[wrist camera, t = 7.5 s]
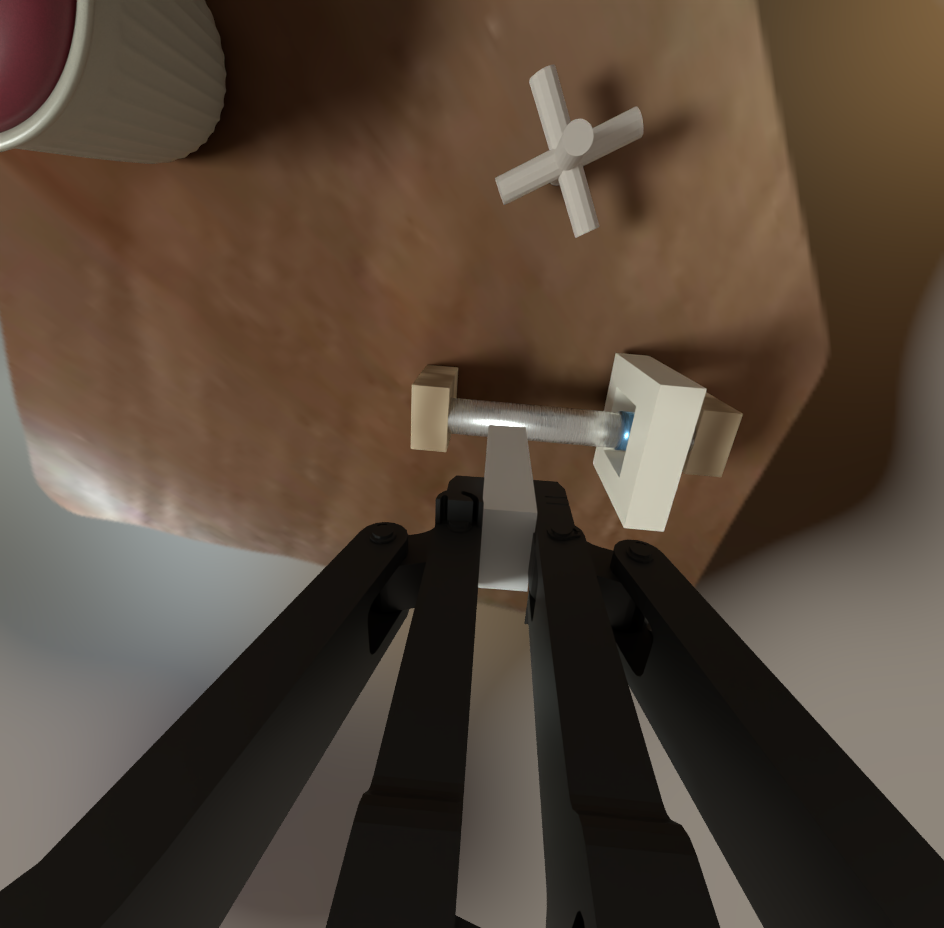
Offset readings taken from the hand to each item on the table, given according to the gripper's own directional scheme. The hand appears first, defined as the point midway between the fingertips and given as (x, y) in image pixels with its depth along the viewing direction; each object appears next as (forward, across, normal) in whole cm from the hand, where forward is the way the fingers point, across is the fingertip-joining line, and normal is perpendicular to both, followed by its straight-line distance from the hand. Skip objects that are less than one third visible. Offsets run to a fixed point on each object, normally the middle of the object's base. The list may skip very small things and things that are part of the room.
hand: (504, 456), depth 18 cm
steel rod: (+20, +6, -5) cm, 21 cm away
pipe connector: (+26, +3, +14) cm, 29 cm away
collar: (+24, +12, -5) cm, 27 cm away
